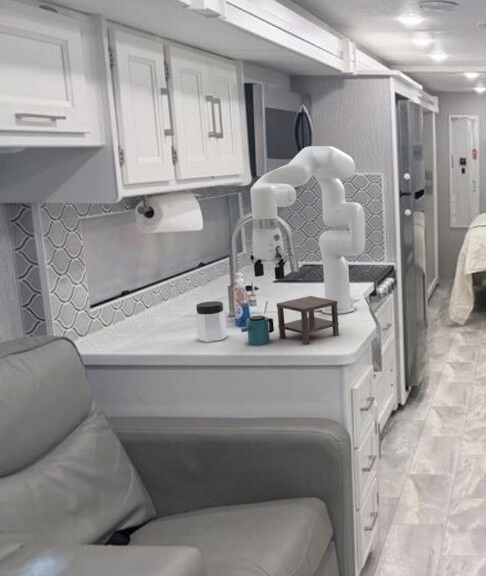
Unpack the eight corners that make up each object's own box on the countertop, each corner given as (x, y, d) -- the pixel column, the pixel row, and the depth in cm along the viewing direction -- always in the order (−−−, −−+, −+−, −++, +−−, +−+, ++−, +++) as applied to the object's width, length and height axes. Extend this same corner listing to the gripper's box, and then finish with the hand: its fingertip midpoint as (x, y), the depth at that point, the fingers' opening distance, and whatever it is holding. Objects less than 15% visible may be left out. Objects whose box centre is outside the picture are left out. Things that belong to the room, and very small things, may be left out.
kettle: (267, 336, 227) (265, 312, 225) (279, 340, 223) (277, 315, 221) (237, 345, 217) (235, 319, 216) (249, 348, 214) (247, 322, 212)
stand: (312, 328, 237) (310, 295, 234) (339, 334, 229) (337, 300, 226) (279, 337, 225) (276, 303, 223) (306, 344, 218) (303, 309, 215)
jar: (207, 334, 229) (203, 300, 227) (230, 334, 229) (227, 300, 227) (194, 342, 221) (190, 307, 218) (219, 342, 221) (215, 307, 218)
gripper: (293, 224, 210) (297, 278, 214) (257, 222, 219) (261, 273, 222) (274, 227, 204) (278, 282, 207) (237, 224, 213) (242, 276, 216)
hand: (269, 277), depth 215 cm, fingers open, 9 cm apart
